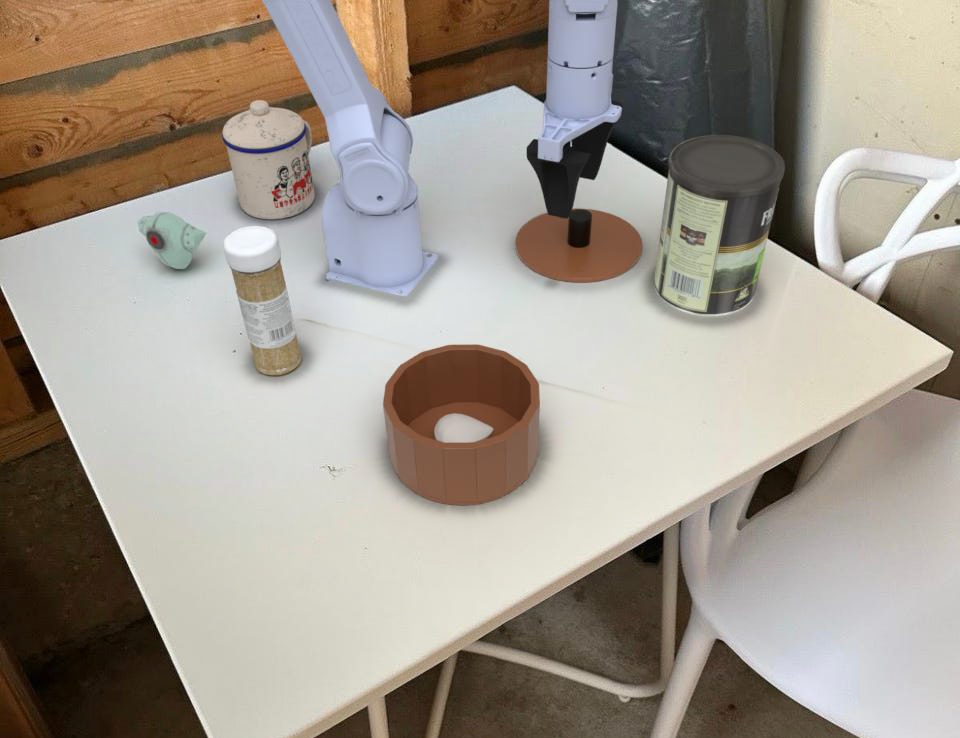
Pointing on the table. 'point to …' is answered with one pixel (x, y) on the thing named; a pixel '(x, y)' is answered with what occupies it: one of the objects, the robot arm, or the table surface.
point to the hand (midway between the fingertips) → (572, 195)
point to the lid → (579, 246)
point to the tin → (469, 391)
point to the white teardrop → (461, 429)
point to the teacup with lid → (270, 161)
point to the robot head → (171, 238)
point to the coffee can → (716, 223)
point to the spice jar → (263, 298)
